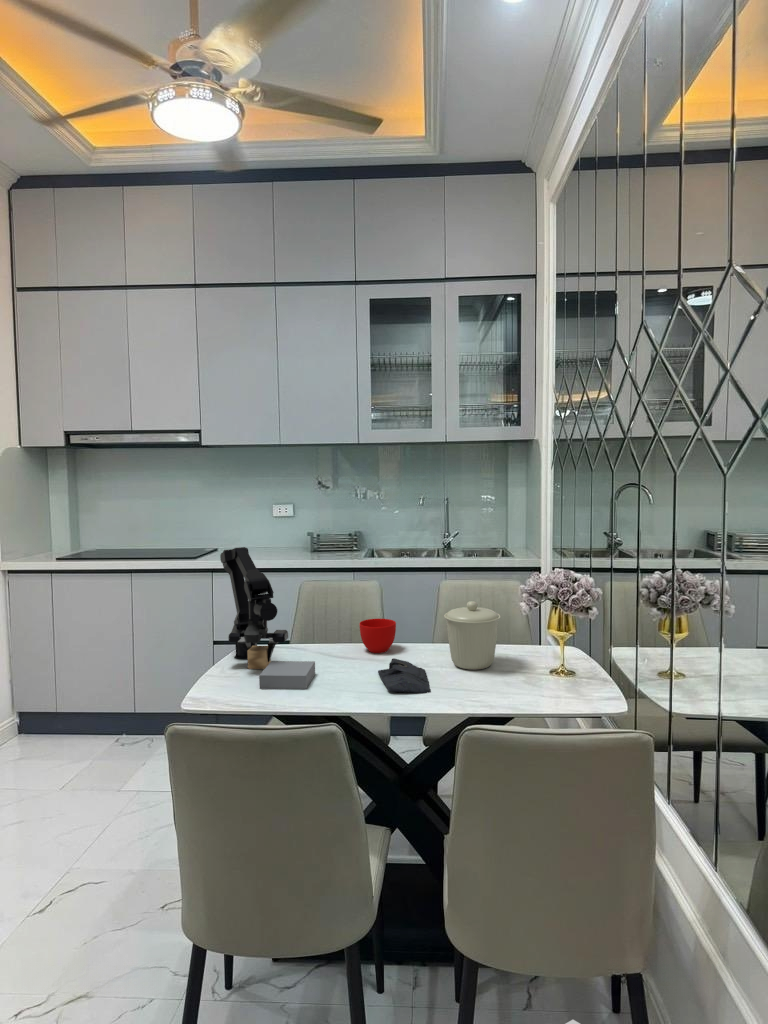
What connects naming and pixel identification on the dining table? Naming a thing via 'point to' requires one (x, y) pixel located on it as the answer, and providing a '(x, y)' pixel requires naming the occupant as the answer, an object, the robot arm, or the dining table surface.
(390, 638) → the ceramic cup
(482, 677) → the dining table surface
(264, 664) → the oak block
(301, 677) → the slate pedestal
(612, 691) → the dining table surface
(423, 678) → the dark slate chunk
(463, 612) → the canister
